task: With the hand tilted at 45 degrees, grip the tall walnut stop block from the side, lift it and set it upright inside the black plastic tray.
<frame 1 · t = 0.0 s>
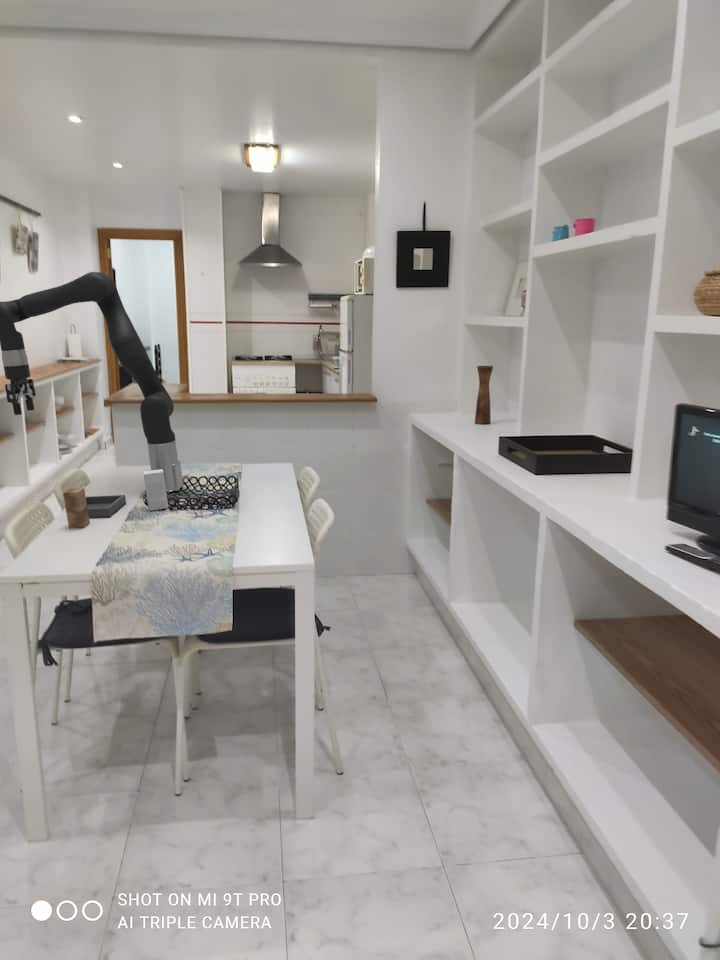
hand: (24, 412, 235), 29 cm above the table, tool pointing down, fingers open, 8 cm apart
skincare box: (158, 508, 221), on the table
stop block: (79, 526, 208), on the table
tray: (98, 511, 221), on the table
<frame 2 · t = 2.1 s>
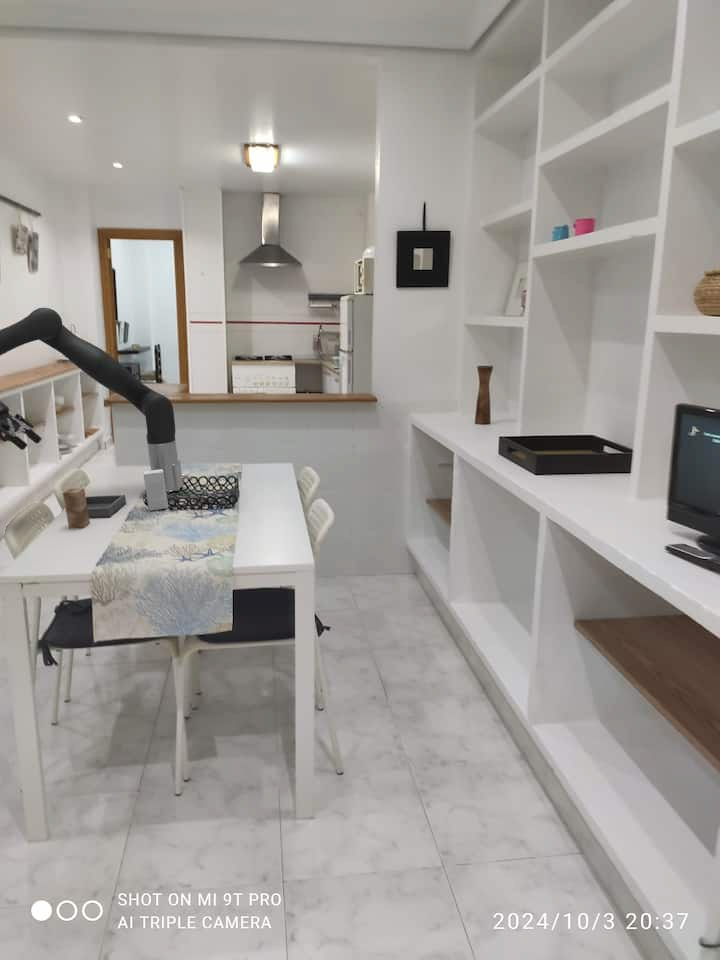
hand: (32, 444, 204), 25 cm above the table, tool tilted 45°, fingers open, 8 cm apart
nothing on the table moved.
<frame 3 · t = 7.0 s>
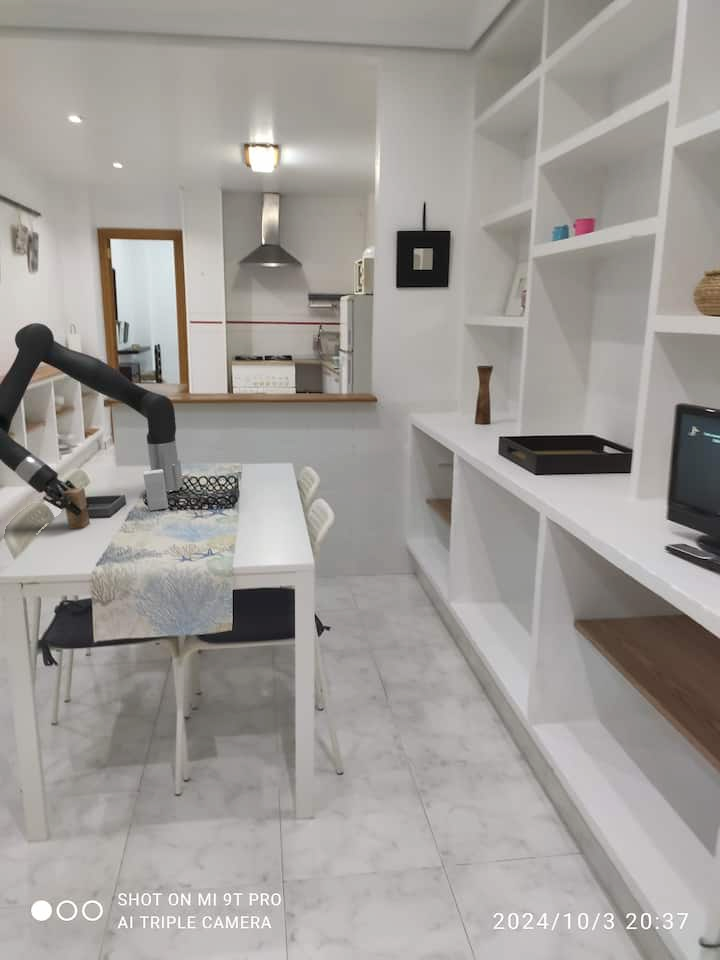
hand: (83, 510, 206), 5 cm above the table, tool tilted 45°, fingers closed on stop block, 4 cm apart
stop block: (79, 526, 208), on the table, touching gripper
everything else where it was.
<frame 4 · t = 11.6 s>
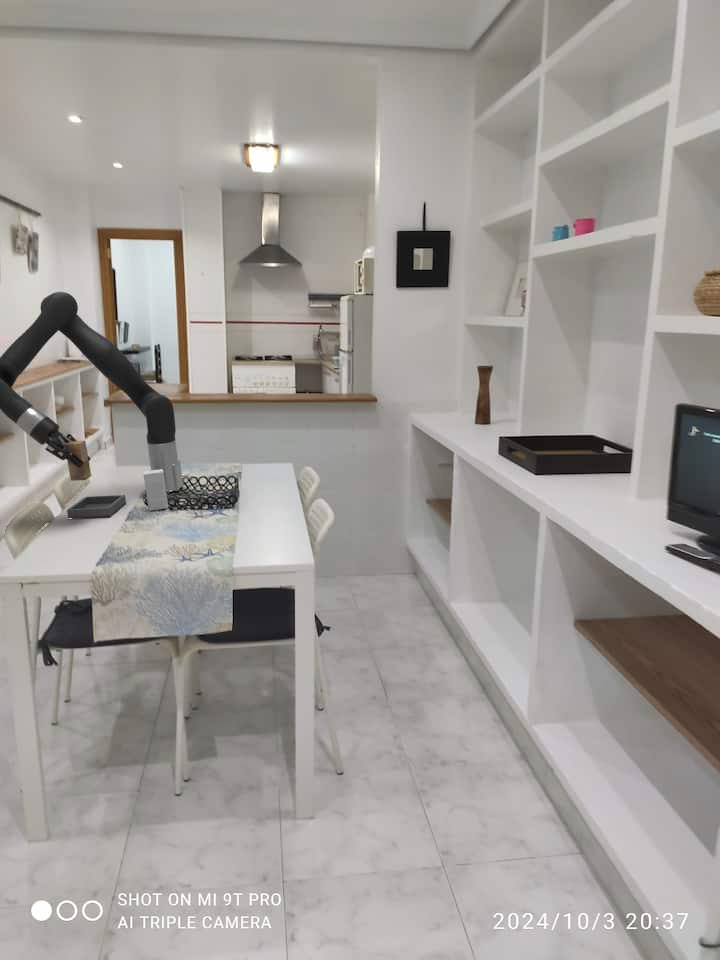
hand: (85, 463, 208), 18 cm above the table, tool tilted 45°, fingers closed on stop block, 4 cm apart
stop block: (81, 478, 209), point 13 cm above the table, touching gripper
everything else where it was.
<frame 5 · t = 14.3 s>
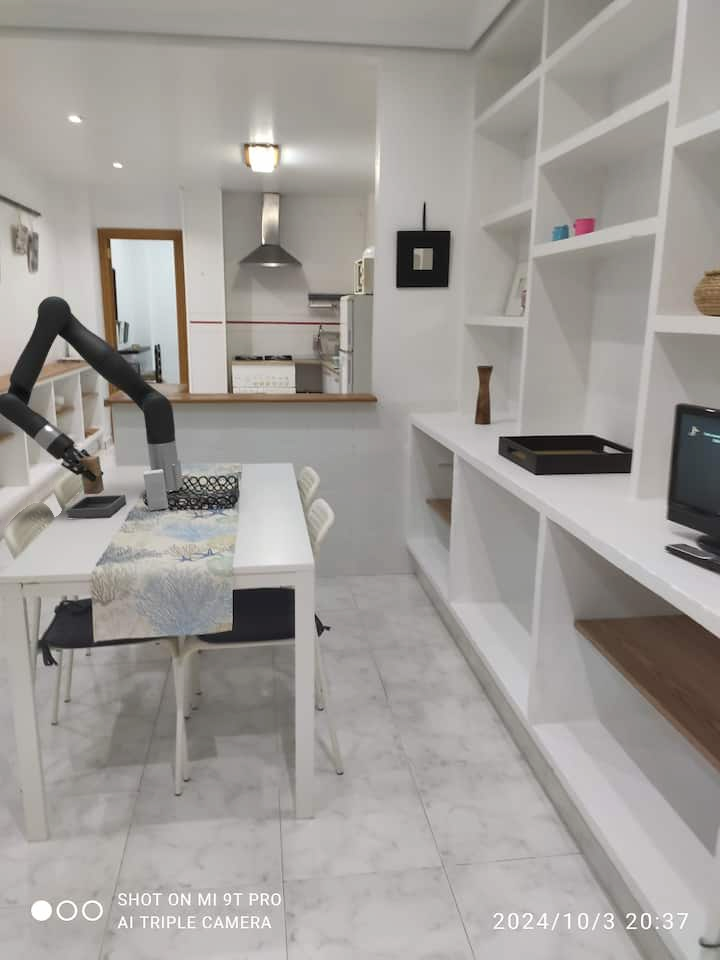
hand: (98, 477, 218), 11 cm above the table, tool tilted 45°, fingers closed on stop block, 4 cm apart
stop block: (94, 492, 219), point 6 cm above the table, touching gripper
everything else where it was.
when the fingers open (6 cm above the table, at t = 16.5 s): stop block drops 1 cm, resting on tray.
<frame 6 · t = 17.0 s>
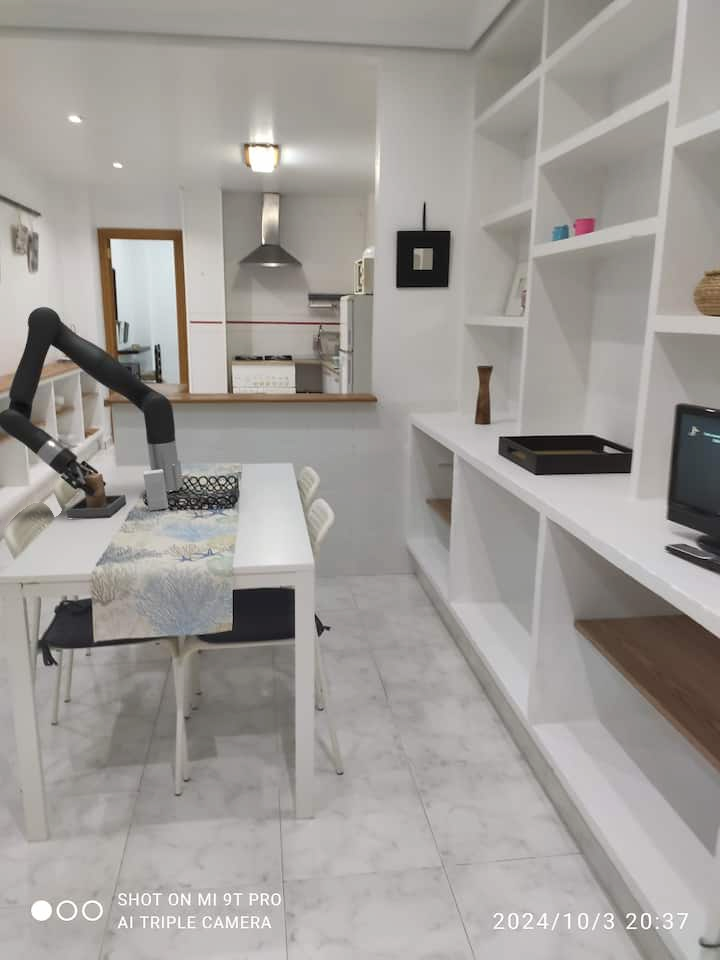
hand: (99, 490, 219), 7 cm above the table, tool tilted 45°, fingers open, 8 cm apart
stop block: (97, 509, 221), point 1 cm above the table, touching tray
everything else where it was.
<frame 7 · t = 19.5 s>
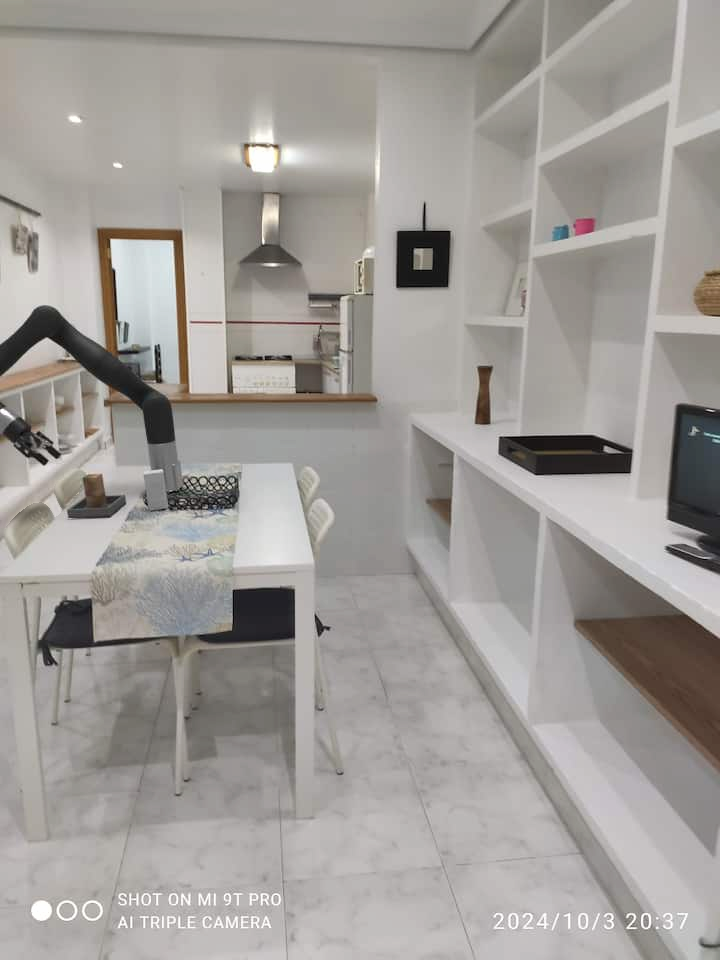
hand: (53, 460, 217), 17 cm above the table, tool tilted 45°, fingers open, 8 cm apart
nothing on the table moved.
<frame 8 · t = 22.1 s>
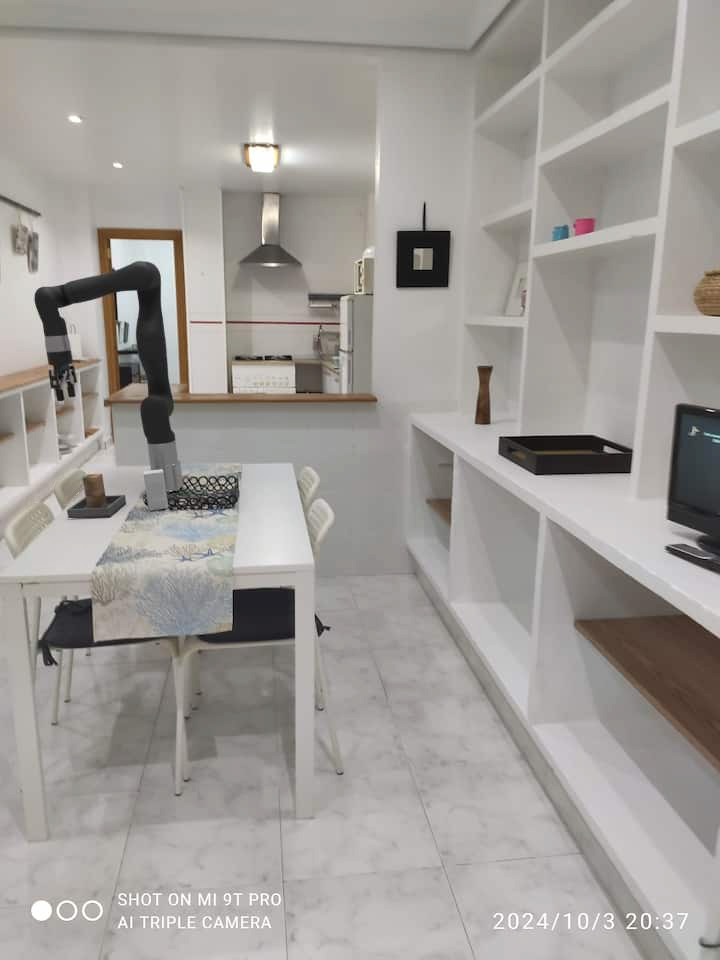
hand: (66, 399, 233), 33 cm above the table, tool pointing down, fingers open, 8 cm apart
nothing on the table moved.
at the end: stop block inside the target area on the tray (0.1 cm from its centre), point 0.6 cm above the tray's base; stop block tilted 0°; the gripper is holding nothing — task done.
